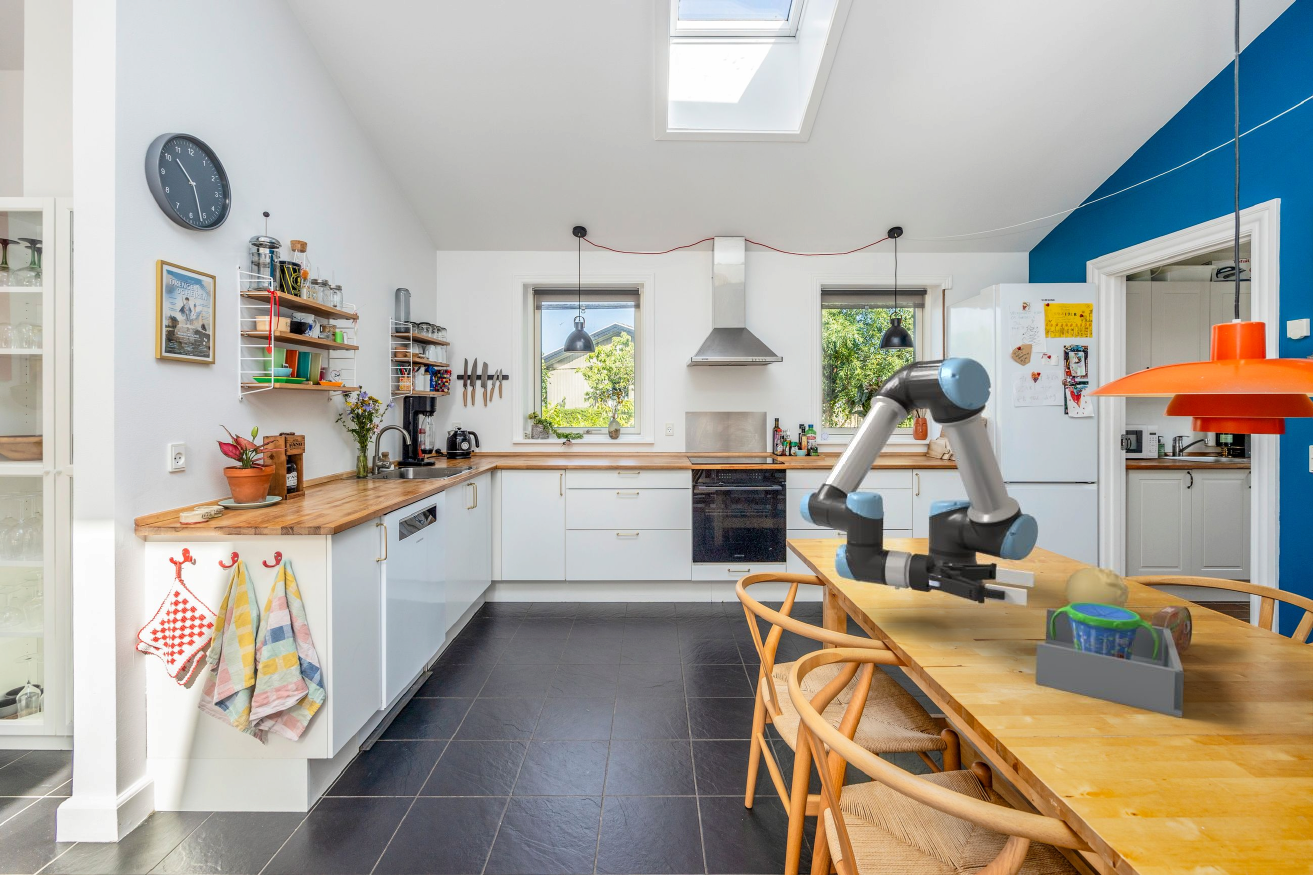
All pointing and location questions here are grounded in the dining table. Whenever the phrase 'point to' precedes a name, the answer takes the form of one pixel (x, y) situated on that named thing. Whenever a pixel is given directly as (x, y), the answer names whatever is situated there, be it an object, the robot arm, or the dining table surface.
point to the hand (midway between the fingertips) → (1030, 588)
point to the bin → (1113, 669)
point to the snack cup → (1104, 629)
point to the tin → (1175, 625)
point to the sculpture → (1097, 587)
